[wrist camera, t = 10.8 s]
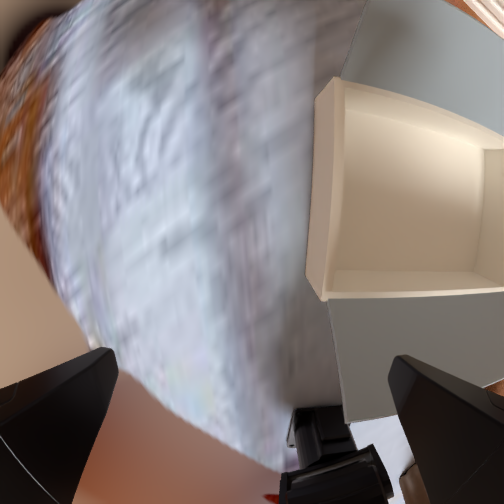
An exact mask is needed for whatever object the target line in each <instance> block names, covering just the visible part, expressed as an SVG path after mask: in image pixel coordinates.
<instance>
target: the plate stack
mask: <svg viewBox="0 0 504 504" xmlns="http://www.w3.org/2000/svg"><path fill="white" fill-rule="evenodd" d="M463 1H464V2H465V3H466V4H467V5H468V6H469V7H470V8H471V9H472V10H473V11H474V12H475V13H476V14H477V15H478V16H479V17H480V18H481V19H482V20H483V21H484V22H485V23H486V24H487V25H488V26H489V27H490V28H491V29H492V30H493V31H494V32H495V33H496V34H498V35H499V36H500V37H502V38H503V39H504V0H463Z"/></svg>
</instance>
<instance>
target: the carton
mask: <svg viewBox="0 0 504 504" xmlns="http://www.w3.org/2000/svg"><path fill="white" fill-rule="evenodd" d="M305 276H306V277H307V279H308V281H309V282H310V284H311V286H312V287H313V289H314V291H315V292H316V294H317V296H318V297H319V299H320V301H327V300H328V299H340V298H400V297H427V296H447V295H463V294H477V293H490V292H501V291H504V136H502V135H500V134H498V133H496V132H494V131H492V130H490V129H488V128H486V127H484V126H482V125H480V124H478V123H476V122H474V121H471V120H469V119H467V118H465V117H462V116H460V115H458V114H455V113H453V112H450V111H448V110H445V109H443V108H440V107H438V106H435V105H432V104H429V103H426V102H424V101H421V100H418V99H415V98H411V97H408V96H405V95H402V94H398V93H395V92H391V91H388V90H384V89H380V88H376V87H372V86H368V85H363V84H359V83H354V82H349V81H344V80H341V77H336V76H334V77H333V78H332V79H331V80H330V82H329V83H328V84H327V85H326V86H325V88H324V89H323V90H322V91H321V92H320V94H319V95H318V96H317V97H316V99H315V103H314V148H313V172H312V191H311V207H310V221H309V234H308V246H307V257H306V268H305Z"/></svg>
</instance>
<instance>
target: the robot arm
mask: <svg viewBox="0 0 504 504" xmlns="http://www.w3.org/2000/svg"><path fill="white" fill-rule="evenodd" d="M118 373H119V371H118V366H117V362H116V357H115V353H114V351H113V350H112V349H111V348H106V347H99V348H97V349H95V350H93V351H90V352H88V353H86V354H83V355H81V356H79V357H76V358H74V359H72V360H70V361H67V362H65V363H63V364H60V365H58V366H56V367H53V368H51V369H48V370H46V371H43V372H41V373H39V374H36V375H34V376H32V377H29V378H27V379H24V380H22V381H19V382H18V383H14V384H12V385H9V386H7V387H4V388H1V389H0V504H72V501H73V498H74V495H75V492H76V490H77V487H78V484H79V481H80V478H81V475H82V473H83V470H84V467H85V465H86V462H87V460H88V457H89V455H90V452H91V450H92V447H93V445H94V442H95V439H96V437H97V435H98V432H99V430H100V428H101V425H102V422H103V420H104V418H105V416H106V413H107V410H108V407H109V404H110V400H111V397H112V394H113V391H114V387H115V384H116V381H117V378H118ZM388 384H389V387H390V391H391V394H392V397H393V401H394V404H395V408H396V411H397V414H398V417H399V420H400V423H401V425H402V427H403V430H404V432H405V435H406V437H407V440H408V443H409V445H410V448H411V450H412V453H413V456H414V458H415V461H416V464H417V467H418V469H419V472H420V475H421V478H422V481H423V484H424V487H425V490H426V493H427V496H428V499H429V502H430V504H504V397H503V396H501V395H498V394H496V393H493V392H491V391H488V390H485V389H484V388H481V387H479V386H477V385H474V384H472V383H470V382H467V381H465V380H463V379H460V378H458V377H456V376H454V375H451V374H449V373H447V372H445V371H442V370H440V369H438V368H436V367H433V366H431V365H429V364H427V363H425V362H422V361H420V360H418V359H416V358H414V357H411V356H409V355H407V354H403V355H397V356H395V357H394V359H393V362H392V365H391V368H390V371H389V373H388ZM298 413H299V414H298ZM350 424H351V423H347V424H345V420H344V411H343V405H340V406H330V407H318V408H302V409H296V410H295V411H294V413H293V417H292V422H291V427H290V431H289V436H288V440H287V447H288V448H297V454H298V460H299V466H300V470H296V471H292V472H284V473H282V474H281V480H280V491H279V504H389V503H388V500H387V499H390V498H392V497H394V493H393V488H392V485H391V481H390V479H389V476H388V473H387V471H386V469H385V467H384V465H383V463H382V461H381V459H380V457H379V455H378V453H377V451H376V449H375V447H374V445H373V444H370V445H368V446H367V447H365V448H363V449H360V450H358V449H357V446H356V444H355V441H354V438H353V436H352V433H351V430H350V428H349V426H350Z"/></svg>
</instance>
